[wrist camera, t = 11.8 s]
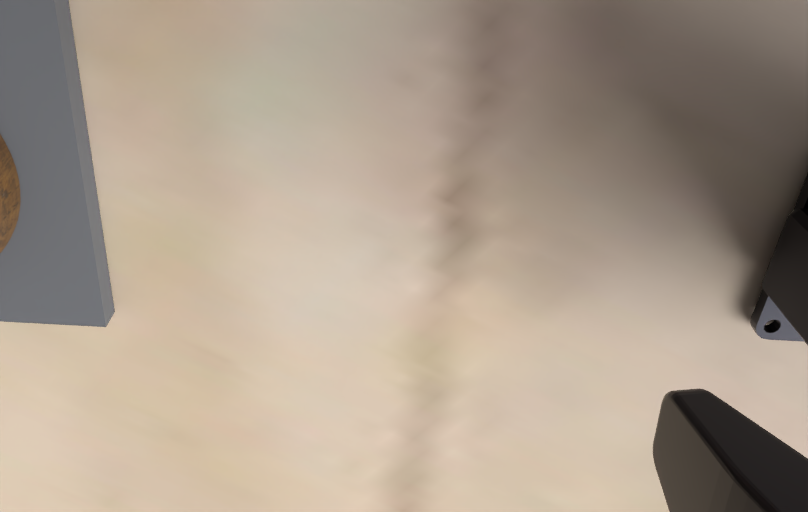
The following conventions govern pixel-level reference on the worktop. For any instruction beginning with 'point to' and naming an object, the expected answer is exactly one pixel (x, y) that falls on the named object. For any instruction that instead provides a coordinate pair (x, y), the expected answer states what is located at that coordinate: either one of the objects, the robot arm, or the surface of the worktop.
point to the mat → (49, 174)
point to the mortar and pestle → (8, 195)
